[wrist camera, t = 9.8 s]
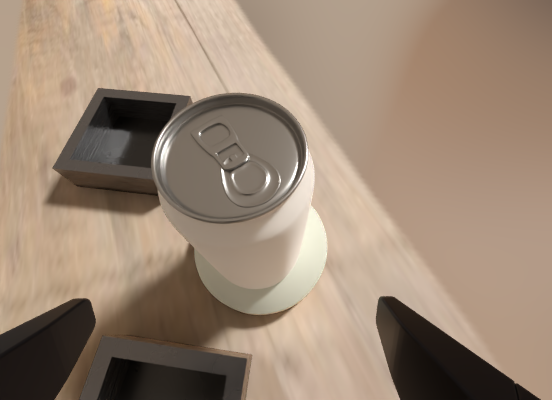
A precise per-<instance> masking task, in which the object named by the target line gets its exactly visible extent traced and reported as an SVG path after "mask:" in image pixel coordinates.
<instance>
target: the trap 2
mask: <svg viewBox="0 0 552 400" xmlns="http://www.w3.org/2000/svg"><path fill="white" fill-rule="evenodd" d="M251 359H252V355H251V354H244V353H238V352H232V351H225V350H219V349H213V348H206V347H200V346H194V345H187V344H181V343H174V342H168V341H162V340H155V339H149V338H143V337H136V336H130V335H107V336H102V338H101V341H100V344H99V347H98V349H97V352H96V355H95V358H94V360H93V363H92V366H91V369H90V371H89V374H88V377H87V380H86V382H85V385H84V388H83V390H82V393H81V396H80V399H79V400H245V399H246V392H247V386H248V379H249V372H250V366H251Z"/></svg>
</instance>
